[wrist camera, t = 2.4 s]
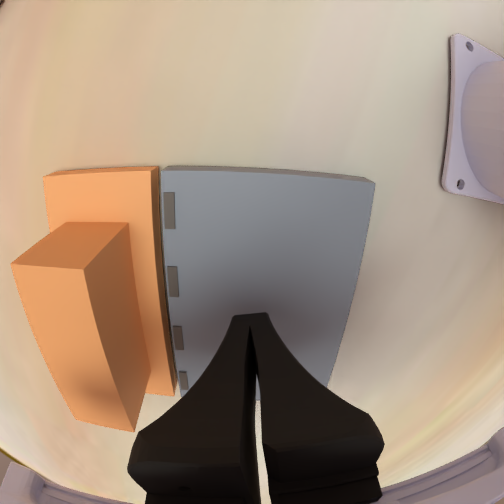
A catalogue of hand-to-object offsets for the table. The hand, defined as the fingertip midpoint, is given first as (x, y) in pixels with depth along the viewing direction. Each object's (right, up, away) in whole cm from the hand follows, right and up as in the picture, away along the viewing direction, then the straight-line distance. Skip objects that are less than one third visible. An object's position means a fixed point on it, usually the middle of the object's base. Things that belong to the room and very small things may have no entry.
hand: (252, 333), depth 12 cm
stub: (-7, +1, +2) cm, 7 cm away
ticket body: (0, +1, +2) cm, 3 cm away
